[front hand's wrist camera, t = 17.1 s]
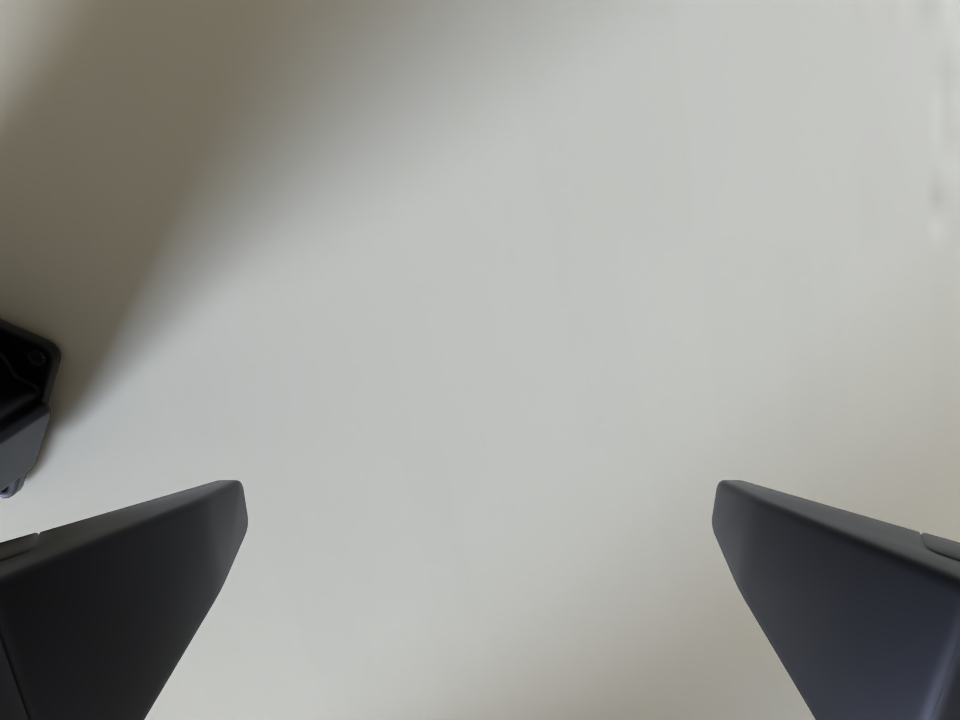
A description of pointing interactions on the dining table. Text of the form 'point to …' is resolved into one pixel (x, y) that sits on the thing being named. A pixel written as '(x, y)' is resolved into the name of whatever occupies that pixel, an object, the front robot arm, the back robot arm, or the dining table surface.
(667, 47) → the dining table surface
